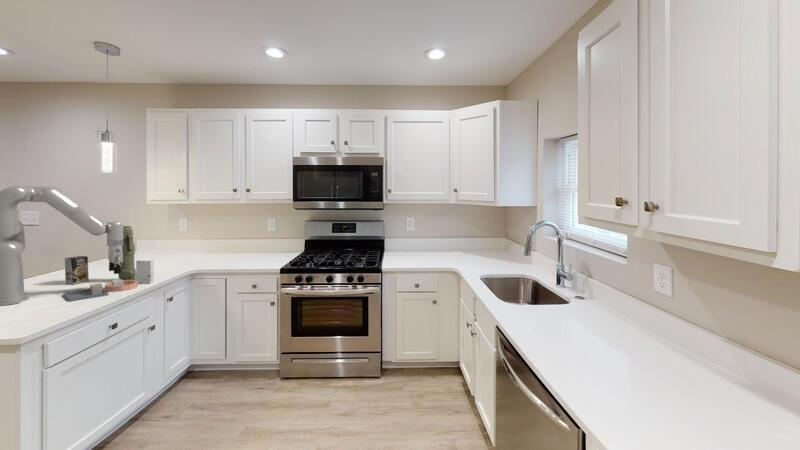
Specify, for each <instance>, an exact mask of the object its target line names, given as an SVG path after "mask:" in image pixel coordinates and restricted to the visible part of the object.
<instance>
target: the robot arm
mask: <svg viewBox="0 0 800 450" xmlns="http://www.w3.org/2000/svg"><path fill="white" fill-rule="evenodd" d="M25 202H26V203H27V202H28V203H29V202H30V203H31V202H32V203H37V202H38V203H45V204H47V205H48V206H50V207H52V208H53V209H54V210H56V211H58V212H59V213H60V214H62V215H63V216H65V217H66V218H68V220H70V221H72V222H73V223H74V224H76V225H77V226H78V227H80V228H81V229H83V230H84V231H86V232H88V233H89V234H91V235H92V236H97V237H98V236H102V235H103V234H106V246H107V248H108V252H107V253H108V254H107V259H108V261H109V262H108V271H109V272H113V274H114V275H117V274H120V273H121V263H122V262H123V251H122V246H123V226H124V222H123V221H104V220H98V219H96V218H95V217H93V216H92V215H91V214H90V213H88V211H86V210H85V209H84V207H83V206H82V205H81V204H79V203H78V202H76V201H75V200H73V199H72V198H71V197H70V196H68V195H67V194H65V193H64V192H63V191H62V190H61V189H60V188H59V187H55V186H40V185H39V186H37V185H12V186H9V187H5V188H3V189H1V190H0V306H8V305H9V306H10V305H16V304H20V303H22V302H27V301H29V299H30V297H29V296H27V295H25V283H24V267H23V261H22V260H23V259H22V254H23V253H24V251H25V249H26V236H25V235H26V234H25V227H24V223H22V221H20V220H19V216H18V215H19V211H18V206H19V204H20V203H25ZM120 262H121V263H120Z"/></svg>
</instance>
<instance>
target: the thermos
mask: <svg viewBox="0 0 800 450" xmlns="http://www.w3.org/2000/svg"><path fill="white" fill-rule="evenodd" d="M122 251H123V262H122V263H121V262H120V263H121V273H120V274H118V279H122V280H136V265H135V252H136V247H135V243H134V231H133V228H132V226H130V225H129V226H127V225H125V226H124V225H123V246H122Z"/></svg>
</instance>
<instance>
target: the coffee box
mask: <svg viewBox="0 0 800 450" xmlns="http://www.w3.org/2000/svg"><path fill="white" fill-rule="evenodd" d="M88 258H89V257H88V255H87V256H86V255H78V256H71V257H64V274H65V277H64V278H65V284H66V285H72V286H74V285H79V284H82V283H88V282H89V278H90V277H89V262H88V261H89V260H88Z"/></svg>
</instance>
